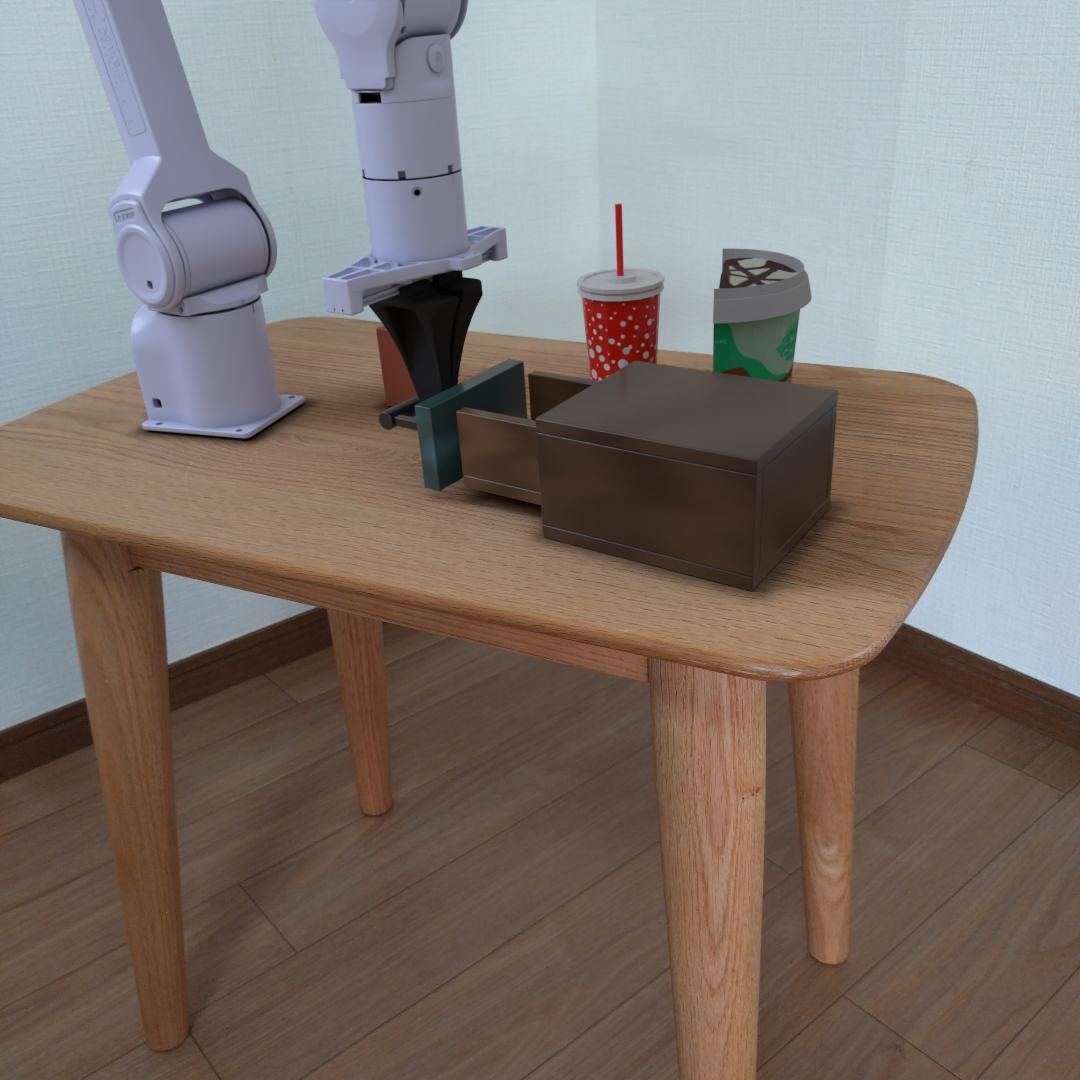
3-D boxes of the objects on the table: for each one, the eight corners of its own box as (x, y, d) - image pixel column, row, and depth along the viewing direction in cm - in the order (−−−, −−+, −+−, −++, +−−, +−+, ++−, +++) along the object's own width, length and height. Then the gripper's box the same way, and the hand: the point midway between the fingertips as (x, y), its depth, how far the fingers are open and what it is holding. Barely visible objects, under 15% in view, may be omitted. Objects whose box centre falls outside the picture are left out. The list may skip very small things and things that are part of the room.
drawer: (366, 473, 65) (353, 393, 63) (458, 423, 72) (450, 349, 70) (585, 527, 57) (581, 437, 54) (667, 465, 63) (666, 383, 61)
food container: (806, 443, 67) (816, 290, 63) (711, 441, 69) (713, 291, 64) (803, 380, 78) (810, 245, 73) (720, 379, 79) (722, 246, 75)
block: (386, 406, 79) (375, 328, 76) (420, 389, 82) (411, 314, 79) (426, 413, 77) (417, 334, 74) (460, 397, 80) (452, 320, 77)
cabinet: (542, 537, 58) (534, 418, 55) (636, 468, 66) (634, 360, 62) (752, 591, 51) (757, 460, 48) (830, 508, 59) (838, 389, 56)
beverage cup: (668, 412, 74) (666, 209, 67) (582, 416, 74) (572, 215, 68) (662, 384, 79) (661, 193, 73) (582, 387, 80) (573, 198, 73)
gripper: (378, 198, 52) (409, 449, 58) (541, 155, 62) (553, 372, 69) (280, 192, 56) (320, 428, 62) (449, 152, 66) (469, 358, 72)
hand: (436, 398), depth 66 cm, fingers closed
